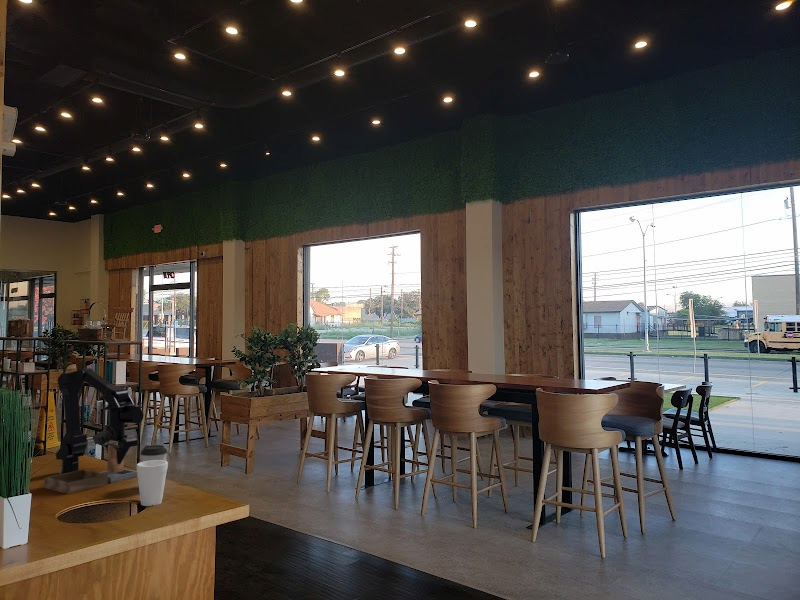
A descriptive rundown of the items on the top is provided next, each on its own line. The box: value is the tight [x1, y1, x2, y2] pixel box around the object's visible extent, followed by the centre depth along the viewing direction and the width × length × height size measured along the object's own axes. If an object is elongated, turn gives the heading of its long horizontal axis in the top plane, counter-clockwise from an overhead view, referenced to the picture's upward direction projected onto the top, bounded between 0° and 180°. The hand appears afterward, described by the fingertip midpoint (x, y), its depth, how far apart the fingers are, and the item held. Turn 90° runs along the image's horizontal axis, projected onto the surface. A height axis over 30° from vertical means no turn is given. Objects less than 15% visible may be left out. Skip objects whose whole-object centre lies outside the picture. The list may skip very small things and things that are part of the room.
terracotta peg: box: [106, 443, 125, 473], centre depth 222 cm, size 4×4×10 cm
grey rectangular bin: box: [99, 468, 138, 484], centre depth 222 cm, size 11×11×2 cm
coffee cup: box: [140, 444, 168, 462], centre depth 211 cm, size 9×9×15 cm
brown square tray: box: [43, 468, 108, 495], centre depth 210 cm, size 15×15×4 cm
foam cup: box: [136, 460, 169, 507], centre depth 193 cm, size 10×9×13 cm
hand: (115, 463), depth 222 cm, fingers closed on terracotta peg, 4 cm apart
